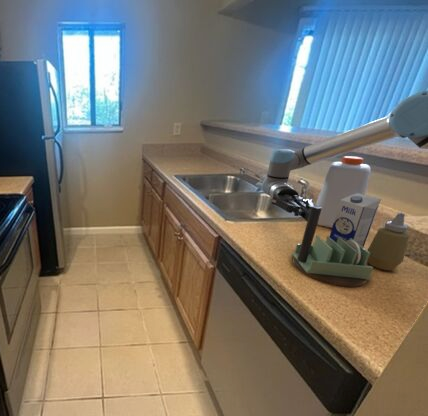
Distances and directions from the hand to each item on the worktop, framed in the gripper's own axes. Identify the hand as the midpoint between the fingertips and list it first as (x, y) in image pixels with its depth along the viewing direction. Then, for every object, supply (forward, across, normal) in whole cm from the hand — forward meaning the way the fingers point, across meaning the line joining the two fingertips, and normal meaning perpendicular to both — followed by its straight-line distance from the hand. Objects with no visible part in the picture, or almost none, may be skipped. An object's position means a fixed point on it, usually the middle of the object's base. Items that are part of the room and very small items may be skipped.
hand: (312, 218), depth 84 cm
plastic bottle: (-37, -26, -16) cm, 48 cm away
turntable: (+3, -6, -15) cm, 17 cm away
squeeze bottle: (-3, -23, -16) cm, 28 cm away
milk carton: (-11, -17, -16) cm, 26 cm away
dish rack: (+3, -6, -14) cm, 16 cm away
